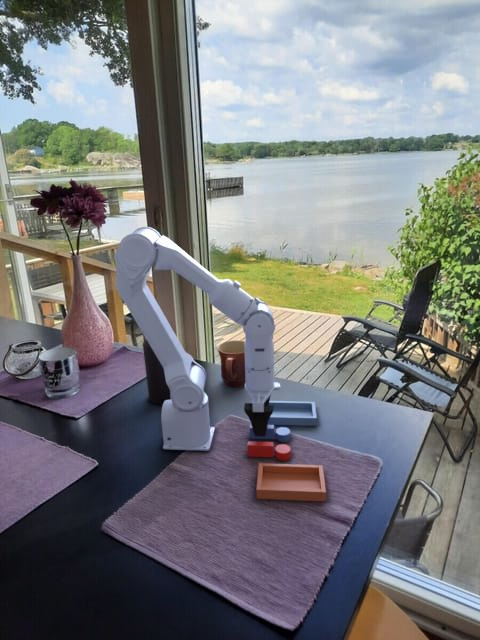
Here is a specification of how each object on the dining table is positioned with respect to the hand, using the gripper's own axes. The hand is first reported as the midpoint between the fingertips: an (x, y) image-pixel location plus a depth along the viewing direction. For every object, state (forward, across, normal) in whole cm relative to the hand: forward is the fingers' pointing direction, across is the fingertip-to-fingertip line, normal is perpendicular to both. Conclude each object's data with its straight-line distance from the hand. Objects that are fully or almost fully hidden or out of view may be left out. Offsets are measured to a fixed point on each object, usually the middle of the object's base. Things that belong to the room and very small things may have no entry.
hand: (261, 424), depth 91 cm
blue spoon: (+3, 0, -2) cm, 4 cm away
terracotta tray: (+3, -14, -6) cm, 16 cm away
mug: (+3, +22, +8) cm, 24 cm away
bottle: (+3, +16, +25) cm, 30 cm away
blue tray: (+3, +8, -6) cm, 11 cm away
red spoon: (+3, -6, -2) cm, 7 cm away
